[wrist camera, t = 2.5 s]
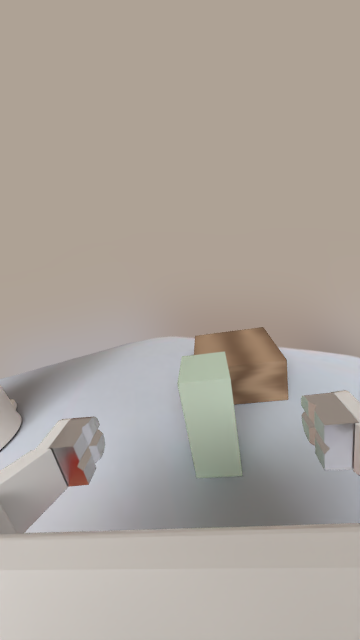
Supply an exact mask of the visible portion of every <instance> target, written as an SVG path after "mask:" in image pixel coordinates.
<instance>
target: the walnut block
mask: <svg viewBox="0 0 360 640" xmlns="http://www.w3.org/2000/svg"><path fill="white" fill-rule="evenodd" d="M216 352H225V355H226V360H227V364H228V369H229V374H230V379H231V387H232V395H233V403H234V404H245V403H256V402H267V401H278V400H288V381H287V360H286V358H285V357H284V356H283V354H282V353H281V351H280V350H279V349H278V347H277V346H276V344H275V343H274V342H273V340H272V339H271V337H270V336H269V335H268V333H267V332H266V330H265V329H264V328H263V327H261V328H253V329H245V330H238V331H230V332H222V333H214V334H206V335H199V336H195V346H194V355H199V354H208V353H216Z"/></svg>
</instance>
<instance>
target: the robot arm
mask: <svg viewBox="0 0 360 640" xmlns="http://www.w3.org/2000/svg"><path fill="white" fill-rule="evenodd" d="M301 406H302V407H303V409H304V411H305V412H304V413H303V414H302V424H303V428H304V432H305V434H306V437H307V439H308V441H309V442H310V443H311V444H313V445H314V446H315V454H316V455H317V457H318V459H319V461H320V463H321V464H322V466H323V468H324V470H325V471H328V470H353V471H354V472H355V473H357V474H358V475H359V476H360V402H359V401H358V400H357V399H356V398H355V397H354V396H353V395H352V394H351V393H350V392H348V391H346V390H344V391H336V392H331V393H323V394H314V395H304V396H302V398H301ZM16 408H17V403H16V402H15V400H14V399H10V400H9V398H8V397H7V395H6V393H5V392H4V390H3V389H2V387H1V385H0V449H2V448H3V447H4V446H5V445H6V444H7V443H8V442H9V441H10V440H11V438H12V437H13V436H14V435H15V434H16V432H17V431H18V429H19V427H20V425H21V420H22V419H21V416H20V414H19V413H18V412H17V411H16ZM99 425H100V424H99V421H98V419H97V418H96V417H82V418H72V419H62V420H60V421H58V422H57V423H56V425H55V426H54V427H53V428H52V430H51V431H50V432H49V433H48V434H47V436H46V437H45V438H44V439H43V441H42V442H41V443H40V444H39V446H38V447H37V448H36V449H35V450H32V451H30V452H28V453H27V454H25V455H24V456H22V457H21V458H19V459H18V460H16V461H15V462H13V463H12V464H10V465H8V466H7V467H5V468H4V469H2V470H1V471H0V640H360V523H345V524H312V525H279V526H246V527H214V528H180V529H147V530H114V531H81V532H48V533H24V532H25V531H26V530H27V529H28V528H29V527H30V526H31V525H32V524H33V523H34V522H35V521H36V520H37V519H38V518H39V517H40V516H41V515H42V514H43V513H44V512H45V511H46V510H47V509H48V508H49V507H50V506H51V505H52V504H53V503H54V502H55V500H56V499H57V498H58V497H59V496H60V495H61V494H62V493H63V492H64V491H65V490H66V489H67V488H68V486H79V485H89V483H90V481H91V479H92V477H93V474H94V472H95V470H96V465H95V463H96V462H97V461H98V460H100V459H101V457H102V455H103V453H104V448H105V438H104V435H103V433H102V432H101V431H100V430H98V428H99Z"/></svg>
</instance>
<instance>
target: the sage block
mask: <svg viewBox="0 0 360 640" xmlns="http://www.w3.org/2000/svg"><path fill="white" fill-rule="evenodd" d="M177 384H178V389H179V394H180V399H181V404H182V409H183V414H184V418H185V423H186V428H187V433H188V438H189V443H190V448H191V453H192V458H193V463H194V468H195V472H196V477H197V478H212V477H233V476H243V475H242V467H241V459H240V451H239V443H238V435H237V427H236V419H235V411H234V403H233V395H232V387H231V379H230V374H229V369H228V364H227V360H226V355H225V352H216V353H208V354H199V355H191V356H182V359H181V365H180V371H179V377H178V383H177Z"/></svg>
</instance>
